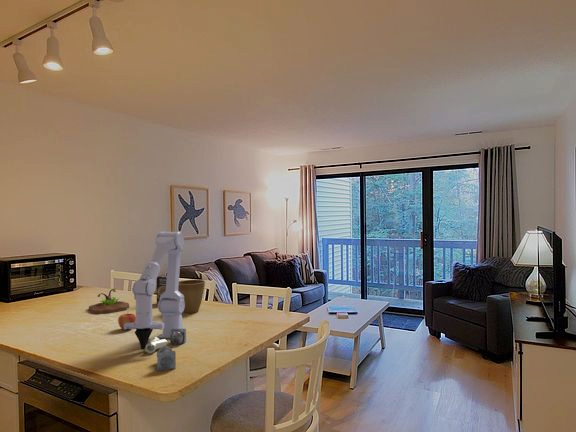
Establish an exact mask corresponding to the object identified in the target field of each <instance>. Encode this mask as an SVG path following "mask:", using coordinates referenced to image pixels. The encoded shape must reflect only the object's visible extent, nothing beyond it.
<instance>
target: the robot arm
mask: <svg viewBox="0 0 576 432" xmlns="http://www.w3.org/2000/svg"><path fill="white" fill-rule="evenodd" d="M155 237H156V238H155V245H156V246H155V248H154V252H153V255H152V257H151V260H150V262H148V263H146V264H145V266H144V269H143V270H142V273H141V275H140V277H139V279H137V280H136V281H135V282H134V283H133V286H132V288H131V290H132V294H133V297H134V298H133V299H134V300H135V316H136V322H135V323H125V324H124V329H126V330H135V331H134V334H135V336H136V338H137V341H138V342H139V345H140V348H141V350H145V348H146V345H147V344H148V343H149V341H150V336H151V334H152V332H153V331H154V330H160V331H162V333H161V334H160V335H159V336H158V339H169V337H170V335H171V329H183V315H182V313H184V308H185V302H184V296H183V295H182V294H181V293H180V292H179V291H178V286H179V281H180V271H181V270H180V269H181V256H182V252H183V251H184V245H185V244H184V243H185V241H184V240H185V238H184V236H183V233H182V232H181V231H159V232H158V233H157V235H156V236H155ZM166 254H167V255H168V256H167V268H166V276H167V280H166V291H165V292H164V293H163V294H162V295H160V300H159V303H158V304H157V309H158V312H159V313H160V316H162V322H154V321H153V295H154V293H155V292H156V290H157V277H158V276H159V275H160V272H161V265H160V264H161V263H162V261H163V259H164V257H165V256H166ZM169 298H176V299H169Z"/></svg>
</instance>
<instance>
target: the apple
mask: <svg viewBox="0 0 576 432" xmlns="http://www.w3.org/2000/svg"><path fill="white" fill-rule="evenodd" d="M135 322H136V314H134V313H123V314H121V315H119V317H118V319H117V323H118V325H119V328H121V330H122V331H125V330H127V329H124V324H125V323H135Z"/></svg>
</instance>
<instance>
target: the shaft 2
mask: <svg viewBox="0 0 576 432" xmlns="http://www.w3.org/2000/svg"><path fill="white" fill-rule="evenodd" d="M168 339H169V343H170V344H172V345H173V346H178V345H180V344H186V342H187V328H182V329H171V335H170V337H169V338H168Z"/></svg>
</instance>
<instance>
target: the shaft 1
mask: <svg viewBox="0 0 576 432" xmlns="http://www.w3.org/2000/svg"><path fill="white" fill-rule="evenodd" d="M176 353H177V352H176V350H173V349H172V348H171V347H169V346H164V347H161V348H160V349H158V350H157V352H156V359H157V361H156V362H157V363H156V370H157V372H161V371H168V370H176V368H177V367H176V362H177V361H176V356H177V355H176Z"/></svg>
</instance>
